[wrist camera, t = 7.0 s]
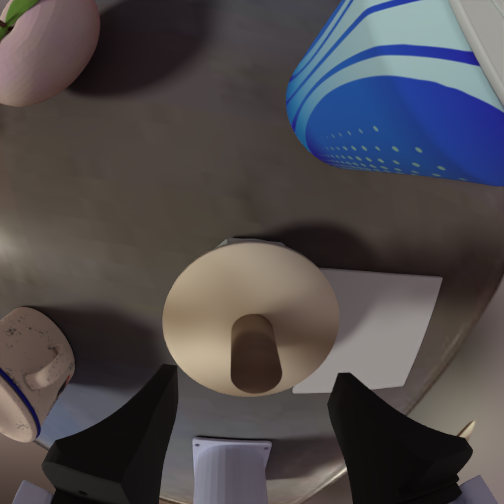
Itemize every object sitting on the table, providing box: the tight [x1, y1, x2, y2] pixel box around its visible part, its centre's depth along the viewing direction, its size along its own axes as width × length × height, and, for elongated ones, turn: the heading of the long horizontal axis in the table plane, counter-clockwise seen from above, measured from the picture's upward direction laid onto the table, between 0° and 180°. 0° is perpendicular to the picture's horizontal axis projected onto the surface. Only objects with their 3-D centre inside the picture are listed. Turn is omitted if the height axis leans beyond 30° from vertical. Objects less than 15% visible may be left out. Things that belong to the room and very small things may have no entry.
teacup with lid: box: [0, 307, 75, 442], centre depth 16 cm, size 12×9×12 cm
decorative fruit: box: [0, 0, 100, 106], centre depth 11 cm, size 9×8×10 cm
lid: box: [163, 240, 339, 397], centre depth 15 cm, size 10×10×5 cm
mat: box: [293, 268, 443, 393], centre depth 23 cm, size 12×12×1 cm
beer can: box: [286, 0, 504, 186], centre depth 10 cm, size 8×8×16 cm
